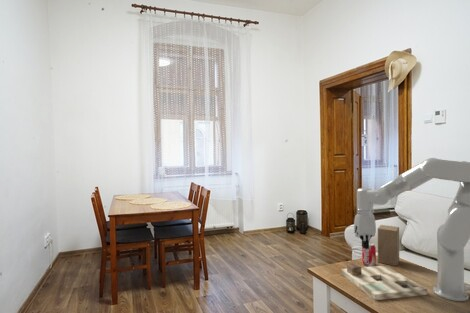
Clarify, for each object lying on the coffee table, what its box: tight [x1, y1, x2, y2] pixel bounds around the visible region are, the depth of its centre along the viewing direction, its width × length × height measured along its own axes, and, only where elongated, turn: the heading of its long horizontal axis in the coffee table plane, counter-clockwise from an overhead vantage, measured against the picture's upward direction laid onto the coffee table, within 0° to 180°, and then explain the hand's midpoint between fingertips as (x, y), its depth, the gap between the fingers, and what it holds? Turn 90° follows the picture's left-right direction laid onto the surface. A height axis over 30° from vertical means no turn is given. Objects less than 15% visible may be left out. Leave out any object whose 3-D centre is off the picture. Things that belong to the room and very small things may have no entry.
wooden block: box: [377, 224, 400, 267], centre depth 168 cm, size 10×10×20 cm
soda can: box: [361, 242, 377, 267], centre depth 164 cm, size 7×7×12 cm
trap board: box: [340, 264, 428, 301], centre depth 141 cm, size 26×28×2 cm
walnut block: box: [346, 262, 362, 276], centre depth 147 cm, size 5×5×4 cm
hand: (365, 248), depth 148 cm, fingers closed
